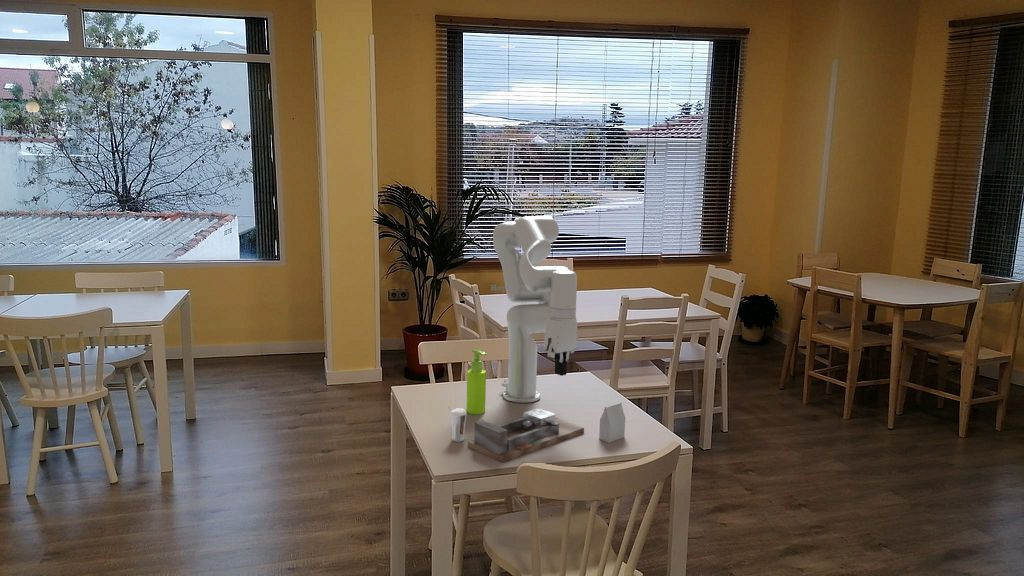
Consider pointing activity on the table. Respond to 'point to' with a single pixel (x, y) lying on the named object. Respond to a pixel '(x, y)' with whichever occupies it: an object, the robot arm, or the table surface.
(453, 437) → the milkshake
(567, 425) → the gauge bench
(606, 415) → the tea bag
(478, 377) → the soap dispenser
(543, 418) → the slider
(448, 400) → the table surface
